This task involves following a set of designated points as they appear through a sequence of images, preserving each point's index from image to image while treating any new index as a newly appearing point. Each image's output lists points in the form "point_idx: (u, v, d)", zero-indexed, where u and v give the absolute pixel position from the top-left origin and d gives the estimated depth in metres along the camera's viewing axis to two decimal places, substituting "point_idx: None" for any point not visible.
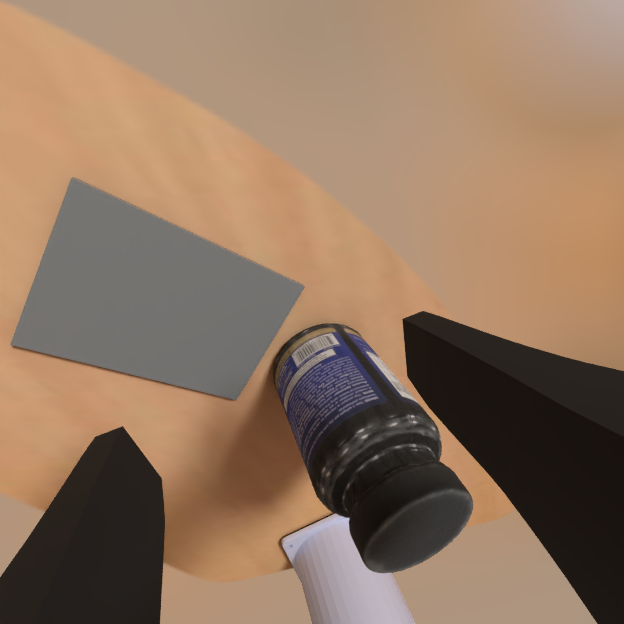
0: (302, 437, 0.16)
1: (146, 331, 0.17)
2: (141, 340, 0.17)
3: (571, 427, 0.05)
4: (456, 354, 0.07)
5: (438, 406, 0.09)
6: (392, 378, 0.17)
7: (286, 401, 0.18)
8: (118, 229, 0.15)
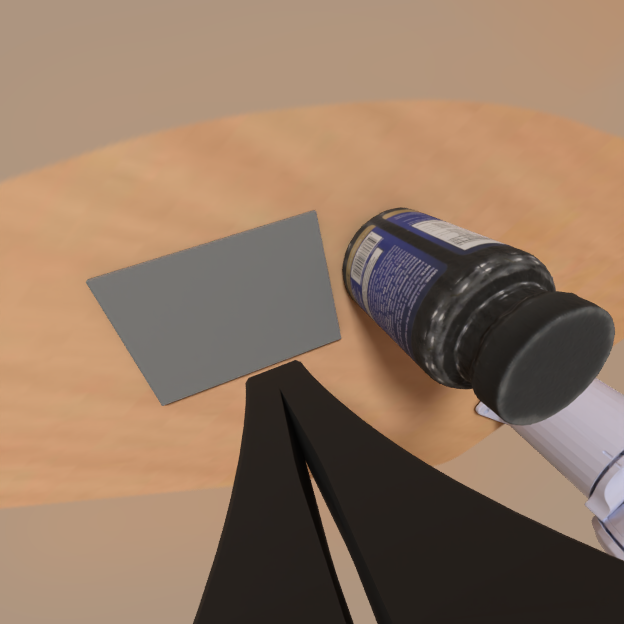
0: (399, 344, 0.16)
1: (229, 339, 0.19)
2: (233, 347, 0.20)
3: (351, 533, 0.05)
4: (296, 420, 0.07)
5: (308, 463, 0.08)
6: (449, 235, 0.14)
7: (373, 318, 0.18)
8: (144, 289, 0.17)
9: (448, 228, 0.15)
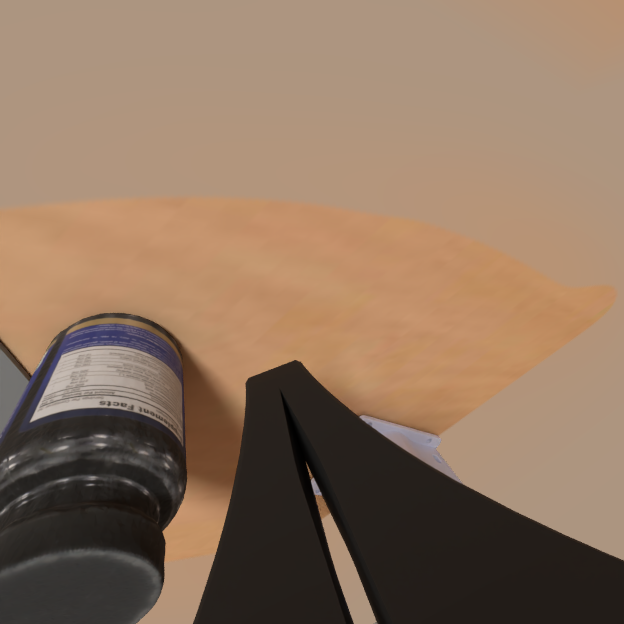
0: None
1: None
2: None
3: (351, 534, 0.05)
4: (296, 419, 0.07)
5: (308, 463, 0.08)
6: (58, 386, 0.12)
7: None
8: None
9: (78, 369, 0.13)
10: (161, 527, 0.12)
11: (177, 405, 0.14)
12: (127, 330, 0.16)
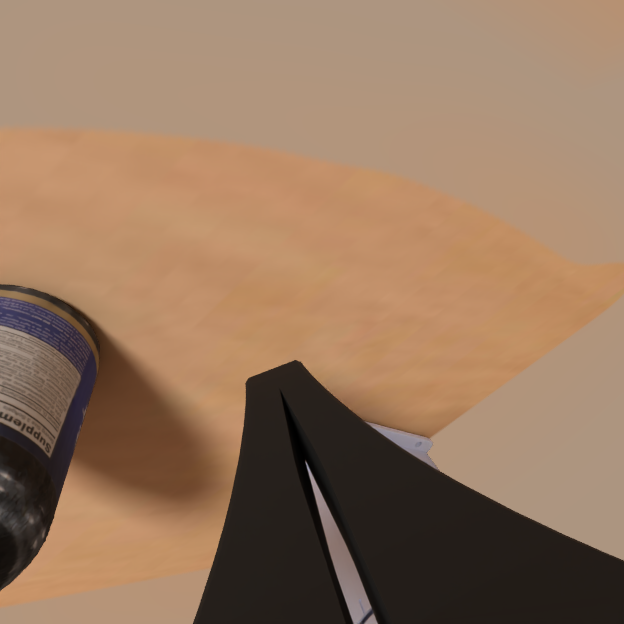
0: None
1: None
2: None
3: (350, 534, 0.05)
4: (296, 420, 0.07)
5: (308, 463, 0.08)
6: None
7: None
8: None
9: None
10: (5, 574, 0.09)
11: (58, 401, 0.11)
12: (5, 304, 0.12)
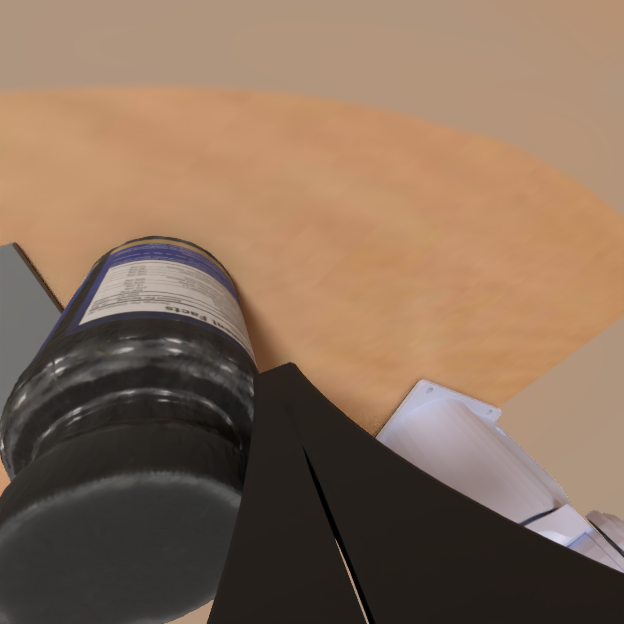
0: None
1: None
2: None
3: (340, 538, 0.05)
4: (289, 423, 0.07)
5: None
6: (110, 292, 0.09)
7: None
8: None
9: (133, 277, 0.10)
10: None
11: (247, 335, 0.12)
12: (182, 251, 0.13)
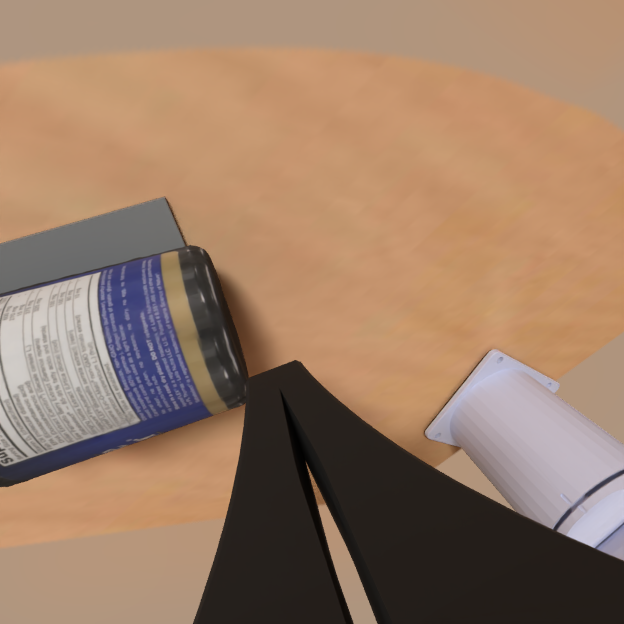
0: None
1: None
2: None
3: (351, 533, 0.05)
4: (296, 420, 0.07)
5: (308, 463, 0.08)
6: (20, 298, 0.10)
7: None
8: None
9: (44, 301, 0.10)
10: None
11: (65, 433, 0.10)
12: (151, 309, 0.10)
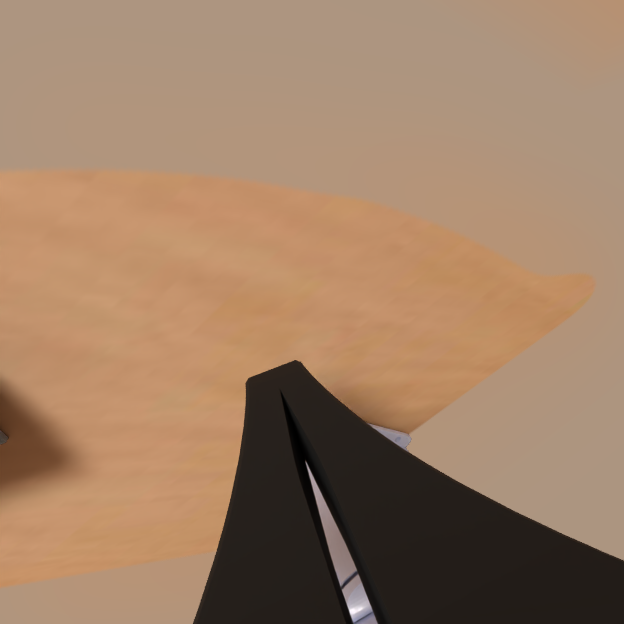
0: None
1: None
2: None
3: (351, 534, 0.05)
4: (296, 419, 0.07)
5: (308, 463, 0.08)
6: None
7: None
8: None
9: None
10: None
11: None
12: None
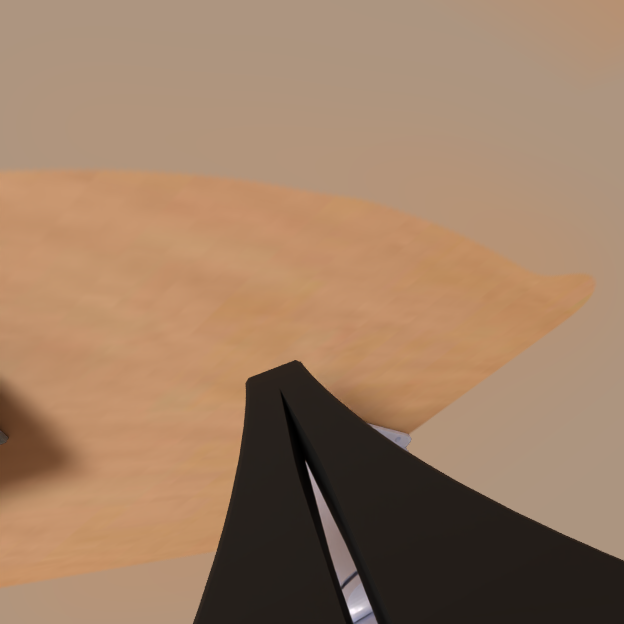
0: None
1: None
2: None
3: (351, 533, 0.05)
4: (296, 419, 0.07)
5: (308, 463, 0.08)
6: None
7: None
8: None
9: None
10: None
11: None
12: None
